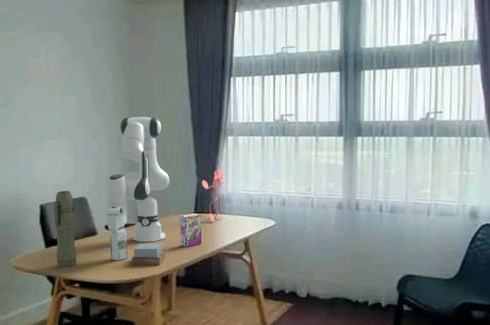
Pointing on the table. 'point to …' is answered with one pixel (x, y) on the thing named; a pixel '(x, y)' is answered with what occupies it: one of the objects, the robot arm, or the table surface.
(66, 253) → the thermos
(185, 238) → the candy bar box
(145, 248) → the tower top
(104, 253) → the table surface
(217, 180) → the figurine
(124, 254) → the syrup box
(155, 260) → the tower bottom
